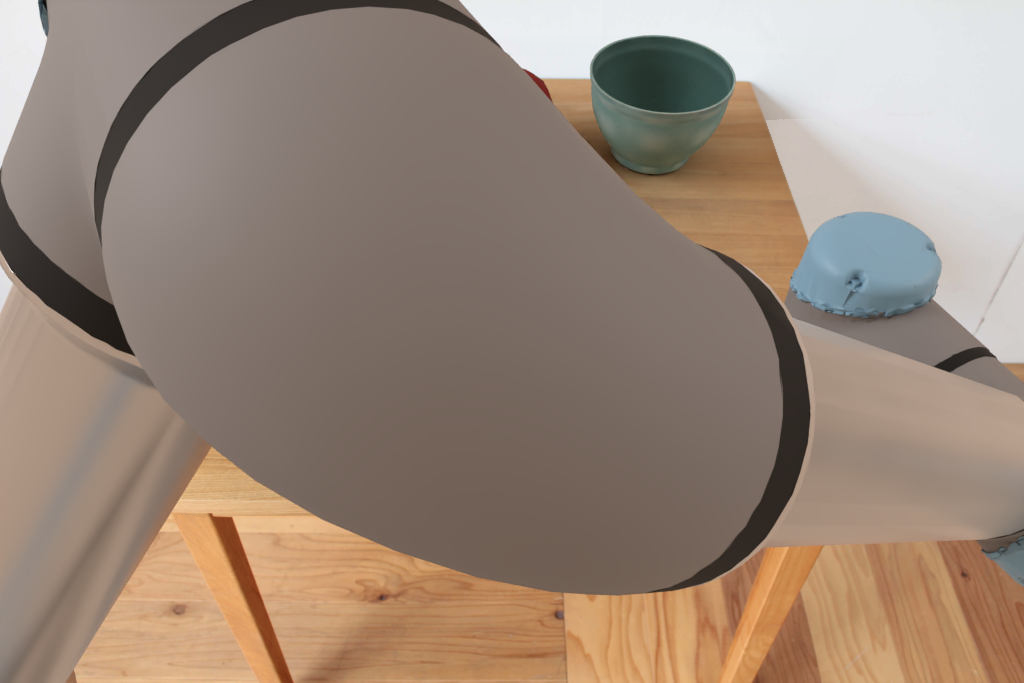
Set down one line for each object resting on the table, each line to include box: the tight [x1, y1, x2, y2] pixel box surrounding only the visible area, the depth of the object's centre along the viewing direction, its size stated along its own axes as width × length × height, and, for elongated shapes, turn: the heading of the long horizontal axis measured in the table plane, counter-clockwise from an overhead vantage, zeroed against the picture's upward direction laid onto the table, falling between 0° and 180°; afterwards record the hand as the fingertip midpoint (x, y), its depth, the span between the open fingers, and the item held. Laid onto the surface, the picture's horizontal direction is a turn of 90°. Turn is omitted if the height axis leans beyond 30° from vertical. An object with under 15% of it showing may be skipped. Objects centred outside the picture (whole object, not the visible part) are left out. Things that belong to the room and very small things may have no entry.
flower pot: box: [589, 34, 737, 175], centre depth 99 cm, size 16×16×11 cm
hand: (434, 262), depth 70 cm, fingers open, 13 cm apart
